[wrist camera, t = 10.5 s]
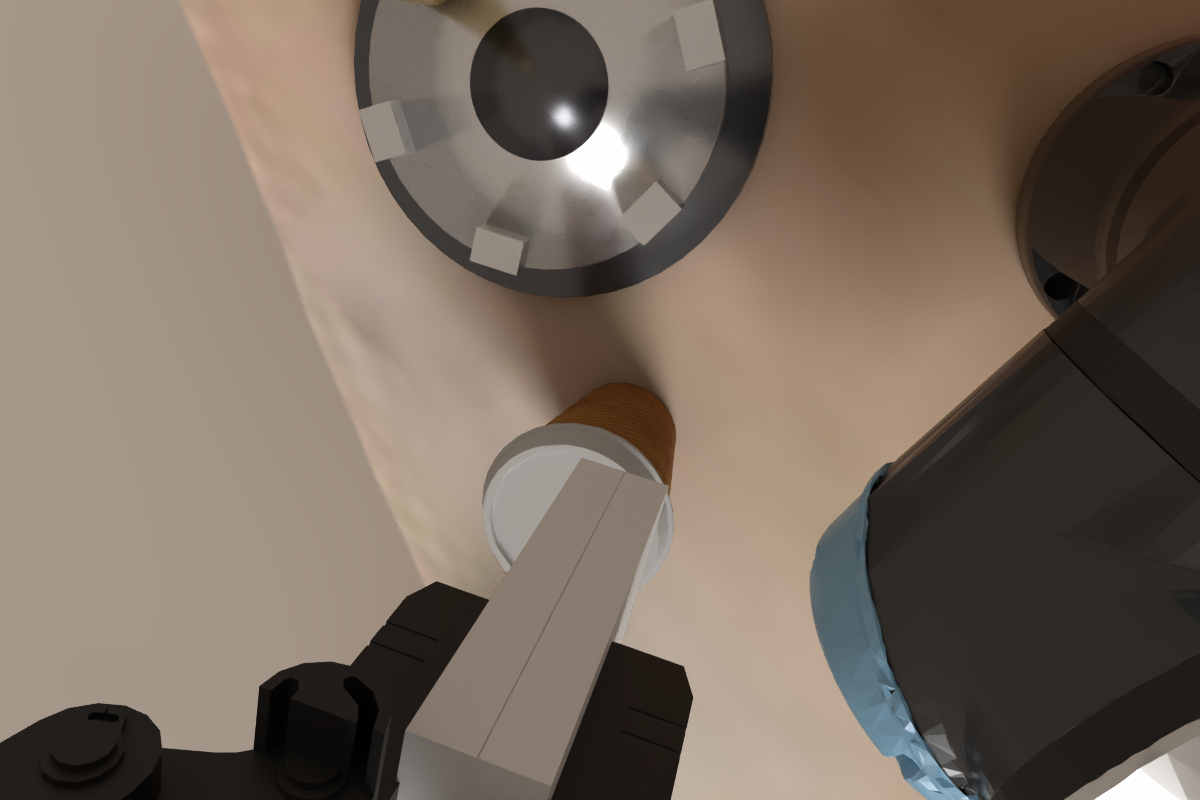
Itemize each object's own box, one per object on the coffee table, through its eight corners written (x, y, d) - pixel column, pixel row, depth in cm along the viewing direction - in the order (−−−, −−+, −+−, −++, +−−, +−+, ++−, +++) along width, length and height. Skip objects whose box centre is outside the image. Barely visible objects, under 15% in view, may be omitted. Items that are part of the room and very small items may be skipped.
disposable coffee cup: (539, 486, 55) (467, 589, 44) (555, 341, 51) (480, 415, 40) (689, 520, 53) (653, 637, 42) (716, 373, 49) (684, 459, 38)
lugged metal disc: (809, 86, 42) (801, 92, 31) (557, 329, 49) (478, 403, 38) (542, -213, 40) (433, -319, 29) (323, 84, 47) (171, 88, 36)
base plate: (835, -103, 40) (835, -111, 38) (704, 338, 49) (699, 348, 47) (396, -202, 43) (378, -213, 41) (346, 230, 52) (329, 236, 50)
